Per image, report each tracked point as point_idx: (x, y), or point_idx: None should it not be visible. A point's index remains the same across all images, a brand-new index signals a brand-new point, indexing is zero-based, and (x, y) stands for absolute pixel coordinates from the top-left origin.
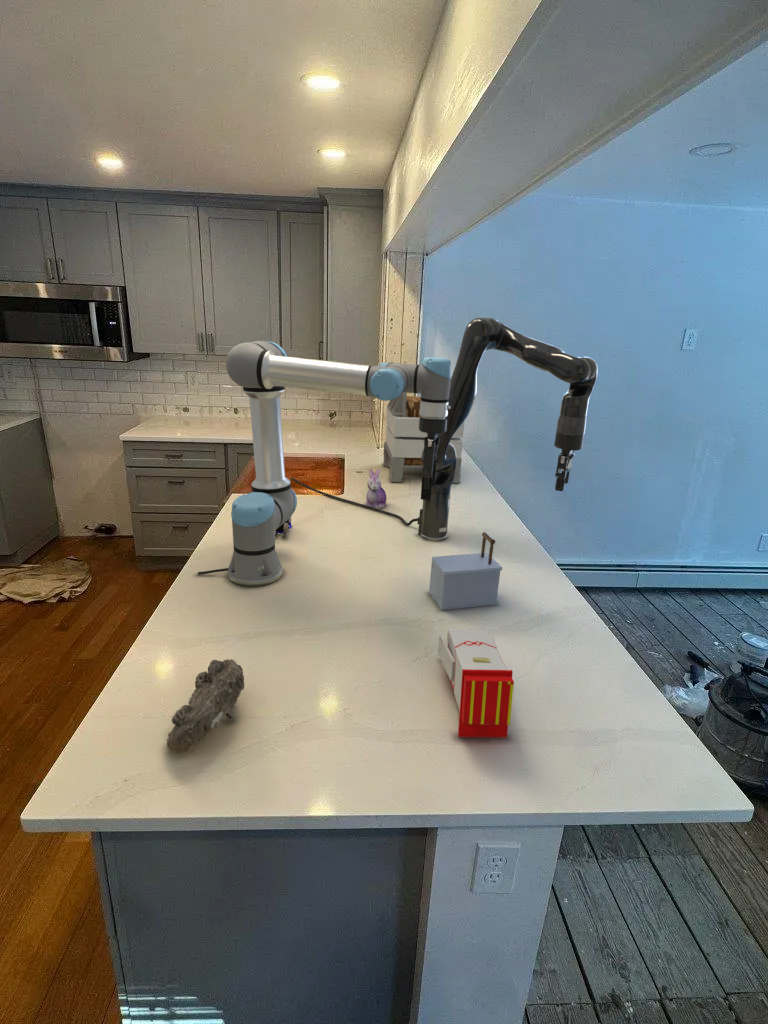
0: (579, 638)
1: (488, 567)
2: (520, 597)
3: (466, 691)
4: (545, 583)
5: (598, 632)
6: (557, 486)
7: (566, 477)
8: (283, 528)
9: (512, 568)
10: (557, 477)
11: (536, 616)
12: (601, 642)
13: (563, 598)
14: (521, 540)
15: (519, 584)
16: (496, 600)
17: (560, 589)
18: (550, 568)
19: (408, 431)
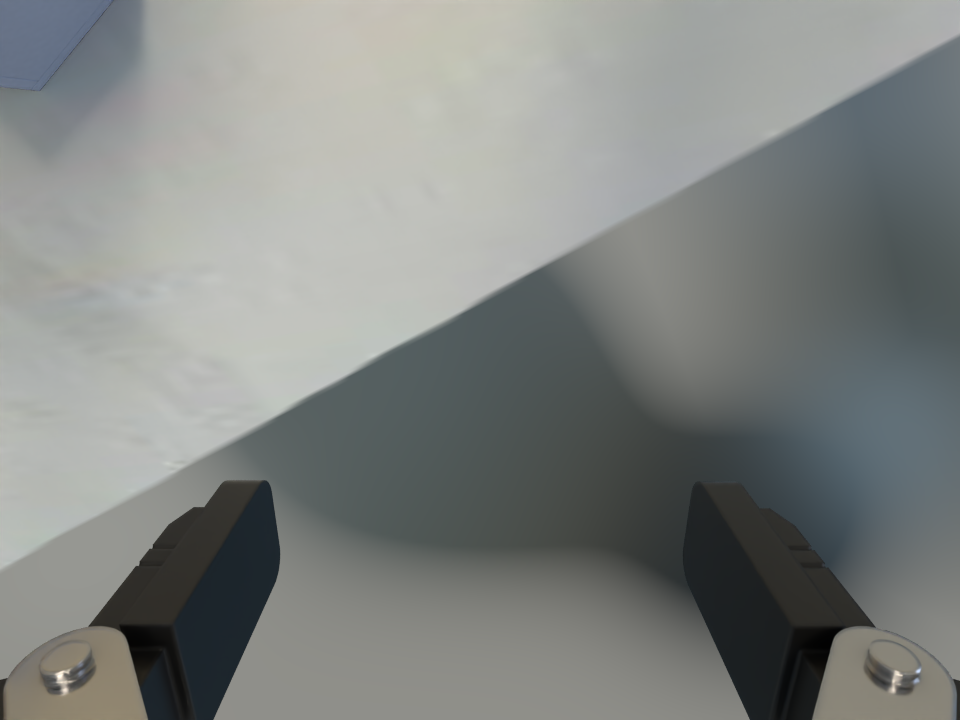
0: (32, 439)
1: None
2: (184, 180)
3: None
4: (395, 255)
5: (119, 486)
6: (165, 547)
7: (720, 616)
8: None
9: (477, 61)
10: (142, 632)
11: (70, 279)
12: (61, 500)
13: (296, 348)
14: (920, 7)
15: (311, 143)
16: (24, 88)
17: (373, 324)
18: (576, 246)
19: None
